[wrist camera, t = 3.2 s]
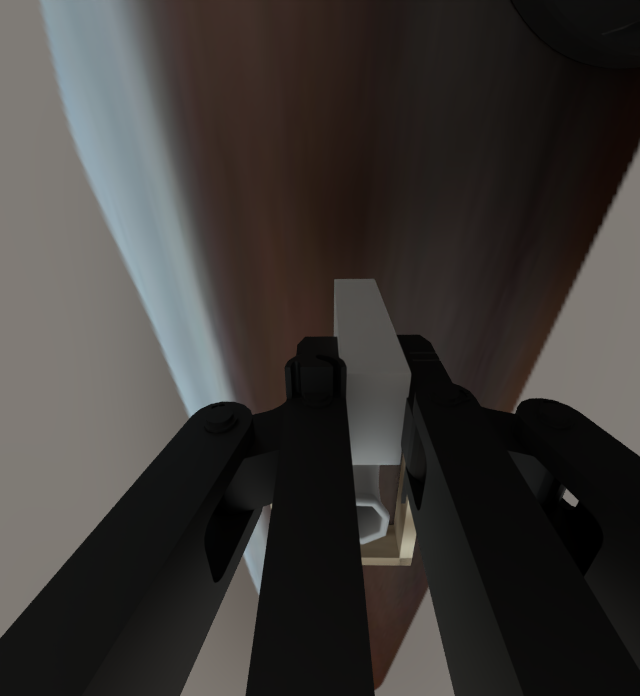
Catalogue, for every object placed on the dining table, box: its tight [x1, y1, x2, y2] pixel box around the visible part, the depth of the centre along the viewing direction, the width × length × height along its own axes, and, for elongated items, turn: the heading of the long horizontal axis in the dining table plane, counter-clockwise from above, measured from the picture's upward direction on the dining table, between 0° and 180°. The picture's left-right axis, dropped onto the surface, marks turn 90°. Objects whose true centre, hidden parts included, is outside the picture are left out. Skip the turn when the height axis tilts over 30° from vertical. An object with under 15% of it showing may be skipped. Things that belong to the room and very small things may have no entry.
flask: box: [353, 465, 390, 544], centre depth 22 cm, size 7×7×10 cm
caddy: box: [271, 455, 416, 565], centre depth 29 cm, size 12×11×3 cm
